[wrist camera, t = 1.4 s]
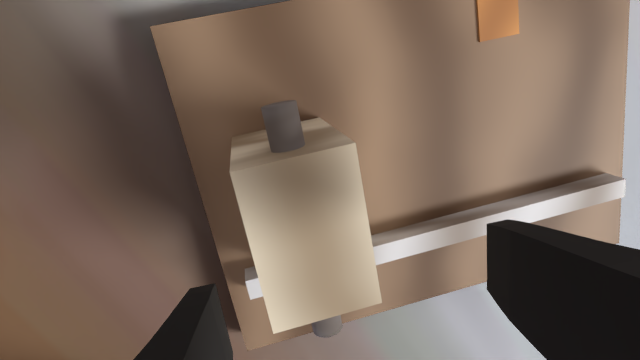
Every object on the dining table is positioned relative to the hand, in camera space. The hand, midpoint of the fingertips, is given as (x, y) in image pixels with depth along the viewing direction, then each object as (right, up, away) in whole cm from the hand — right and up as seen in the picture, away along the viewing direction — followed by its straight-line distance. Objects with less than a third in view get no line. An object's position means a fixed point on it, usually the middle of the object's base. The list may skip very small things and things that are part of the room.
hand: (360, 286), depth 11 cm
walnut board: (+4, +4, +11) cm, 12 cm away
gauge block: (-2, +2, +9) cm, 9 cm away
